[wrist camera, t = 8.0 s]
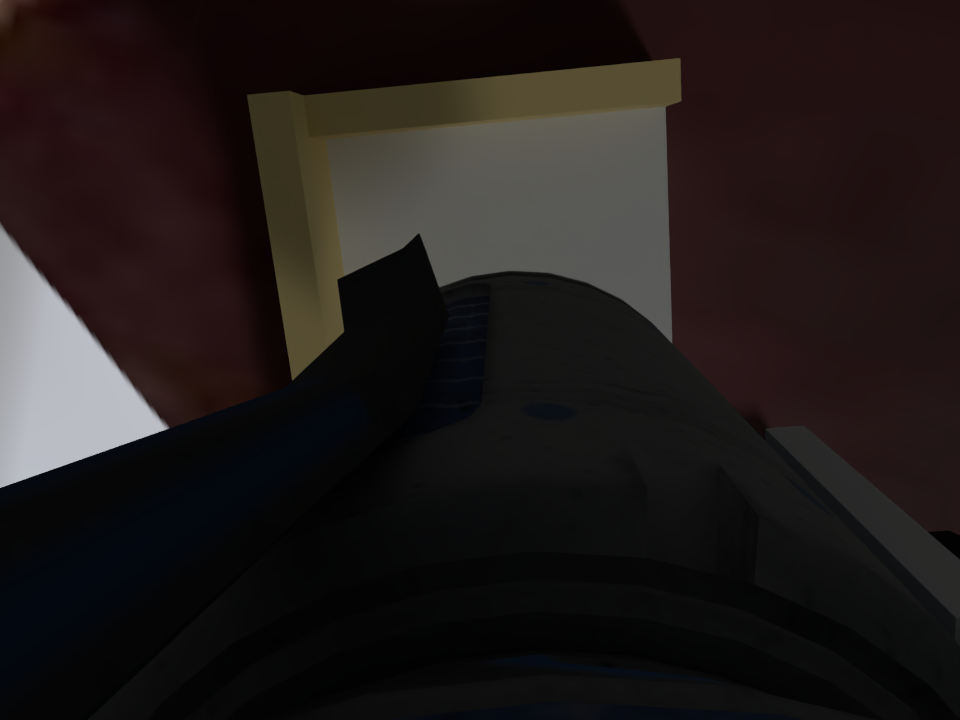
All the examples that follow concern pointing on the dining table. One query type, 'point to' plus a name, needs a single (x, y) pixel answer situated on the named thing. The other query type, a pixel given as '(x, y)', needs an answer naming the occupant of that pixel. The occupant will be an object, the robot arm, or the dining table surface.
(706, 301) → the dining table surface
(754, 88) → the dining table surface
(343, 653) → the beverage bottle
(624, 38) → the dining table surface
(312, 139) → the dock bay
